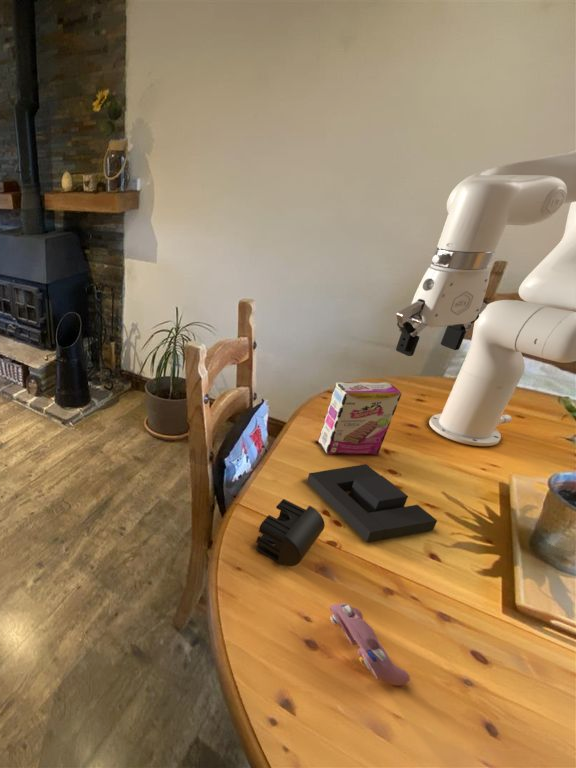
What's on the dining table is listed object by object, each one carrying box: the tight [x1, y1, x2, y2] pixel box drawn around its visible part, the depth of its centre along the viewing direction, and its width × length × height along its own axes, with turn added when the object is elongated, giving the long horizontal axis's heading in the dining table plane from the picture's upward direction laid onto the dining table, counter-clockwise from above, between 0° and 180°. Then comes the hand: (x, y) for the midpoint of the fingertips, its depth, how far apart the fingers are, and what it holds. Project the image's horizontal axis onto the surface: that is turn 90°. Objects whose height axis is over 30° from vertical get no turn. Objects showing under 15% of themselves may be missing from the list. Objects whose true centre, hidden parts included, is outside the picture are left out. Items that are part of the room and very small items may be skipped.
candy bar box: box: [318, 381, 403, 455], centre depth 92 cm, size 11×5×16 cm, turn 84°
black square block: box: [348, 474, 409, 513], centre depth 80 cm, size 6×6×4 cm
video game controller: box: [328, 602, 411, 687], centre depth 56 cm, size 10×5×7 cm, turn 5°
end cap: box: [255, 498, 326, 567], centre depth 72 cm, size 10×7×7 cm
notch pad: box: [306, 463, 438, 543], centre depth 80 cm, size 13×16×2 cm
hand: (426, 350), depth 79 cm, fingers open, 9 cm apart
